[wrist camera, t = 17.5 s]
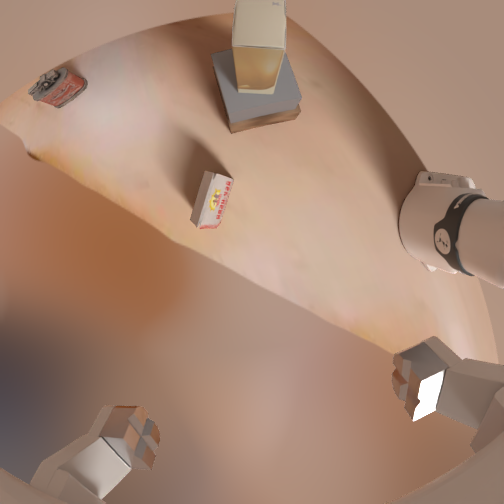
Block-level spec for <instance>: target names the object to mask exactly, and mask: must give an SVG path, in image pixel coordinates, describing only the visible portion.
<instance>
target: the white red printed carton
mask: <svg viewBox="0 0 504 504" xmlns="http://www.w3.org/2000/svg"><path fill="white" fill-rule="evenodd" d="M233 182H234V180H233V179H232V178H229V177H226V176H223V175H220V174H215V173H214V172H209V171H205V172H204V175H203V178H202V181H201V185H200V188H199V191H198V194H197V198H196V201H195V204H194V208H193V211H192V214H191V218H190V220H191V221H192V222H193V223H194V224H195V226H196V227H198V225H199V223H200V229H202V228H217V227H218V225H219V224H220V223H221V219H222V216H223V213H224V210H225V207H226V204H227V200H228V197H229V194H230V191H231V188H232V185H233Z"/></svg>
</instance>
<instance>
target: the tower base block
mask: <svg viewBox="0 0 504 504" xmlns="http://www.w3.org/2000/svg"><path fill="white" fill-rule="evenodd" d="M213 69H214V73H215V77H216V80H217V84H218V87H219V91H220V94H221V98H222V102H223V105H224V109H225V112H226V116H227V120H228V123H229V127H230V130H231V134H232V133H236V132H240V131H244V130H248V129H252V128H256V127H261V126H265V125H270V124H274V123H279V122H284V121H290V120H295V119H296V117H297V116H298V115H299V113H300V112H301V110H300V107H299V104H298V105H297V107H296V108H295V109H293V110H288V111H283V112H278V113H273V114H268V115H264V116H259V117H255V118H251V119H247V120H243V121H239V122H235V123H230V119H229V116H228V112H227V109H226V105H225V102H224V98H223V95H222V91H221V88H220V84H219V81H218V78H217V74H216V71H215V67H214V66H213Z"/></svg>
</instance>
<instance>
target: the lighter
mask: <svg viewBox="0 0 504 504" xmlns="http://www.w3.org/2000/svg"><path fill="white" fill-rule="evenodd" d="M86 87H87V81H86V80H85V79H83V78H82V79H81V78H80V77H78V76H76V75H74V74H73V73H71V72H69V71H68V70H67V69H66V68H61V69H59V70H57V71H55V70H53V69H52V70H51V71H49V72H48V73H47V74H43V75H42V76H40V80H39V81H38V82H36V83H35V84H34V85H33V86H32V87H31V88H30V89H29V90H28V94H29V95H33V99H34V100H35V101H42V102H45V103H48V104H51V105H53V106H54V107H56V108H61V107H63V106H64V105H66V104H68V103H69V102H71V101H72V100H74V99H75V98H76V97H77V96H79V95H80V94H81V93H82V92H83V91H84V90H85V89H86Z"/></svg>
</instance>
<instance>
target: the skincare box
mask: <svg viewBox="0 0 504 504" xmlns="http://www.w3.org/2000/svg"><path fill="white" fill-rule="evenodd" d="M285 50H286V0H236V3H235V8H234V16H233V28H232V51H233V58H234V65H235V72H236V80H237V88H238V92H239V93H253V94H273V93H274V90H275V86H276V82H277V79H278V75H279V71H280V68H281V64H282V61H283V57H284V53H285Z"/></svg>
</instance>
